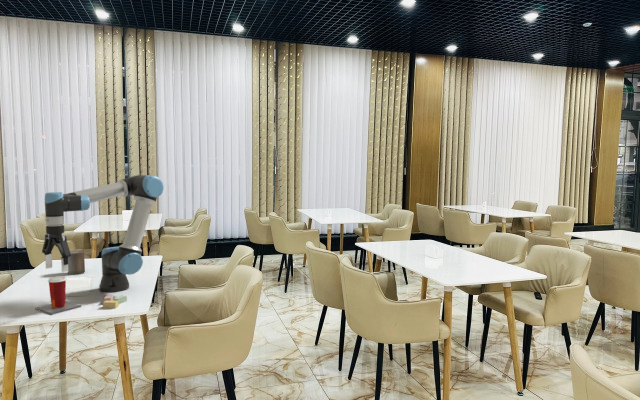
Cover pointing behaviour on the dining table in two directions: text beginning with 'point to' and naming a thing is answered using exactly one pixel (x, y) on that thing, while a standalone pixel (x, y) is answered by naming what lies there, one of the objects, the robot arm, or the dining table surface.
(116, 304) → the ochre brick
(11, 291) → the dining table surface
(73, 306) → the slate mat
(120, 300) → the sage brick
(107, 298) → the rose brick
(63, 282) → the paper cup
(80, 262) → the pillar candle
